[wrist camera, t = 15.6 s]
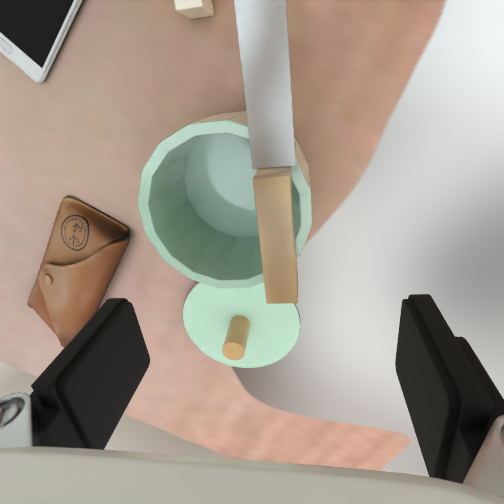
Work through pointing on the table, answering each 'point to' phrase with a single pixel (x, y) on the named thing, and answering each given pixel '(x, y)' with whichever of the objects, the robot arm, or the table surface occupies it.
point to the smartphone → (35, 32)
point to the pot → (213, 202)
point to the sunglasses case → (77, 267)
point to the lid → (240, 325)
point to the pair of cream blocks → (194, 8)
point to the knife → (270, 138)
